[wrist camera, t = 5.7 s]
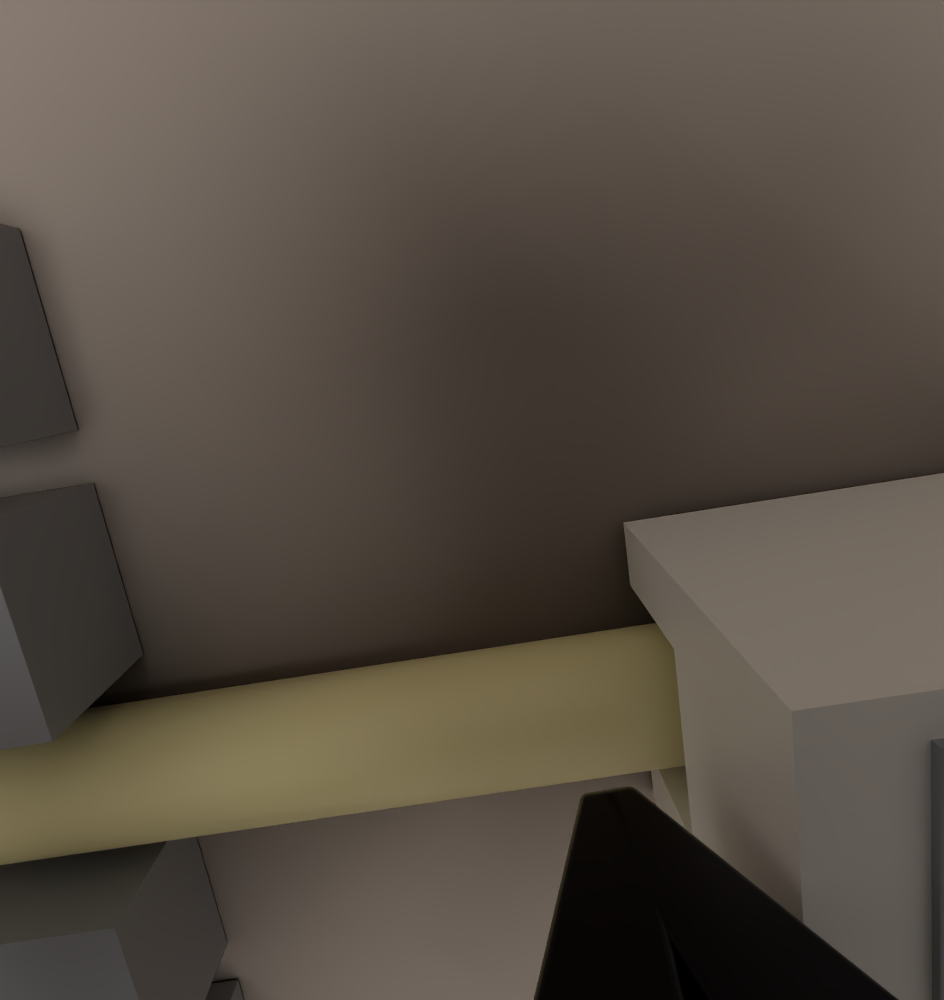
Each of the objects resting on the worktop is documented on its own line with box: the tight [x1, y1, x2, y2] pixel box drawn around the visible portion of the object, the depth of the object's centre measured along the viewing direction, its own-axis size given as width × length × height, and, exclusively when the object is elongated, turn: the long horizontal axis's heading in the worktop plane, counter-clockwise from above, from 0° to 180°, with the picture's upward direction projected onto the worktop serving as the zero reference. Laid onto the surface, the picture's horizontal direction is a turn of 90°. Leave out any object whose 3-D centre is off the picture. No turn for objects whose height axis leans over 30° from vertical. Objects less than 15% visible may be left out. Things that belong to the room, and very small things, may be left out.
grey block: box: [623, 473, 944, 1000], centre depth 8 cm, size 5×5×5 cm
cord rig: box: [0, 224, 685, 1000], centre depth 9 cm, size 23×16×3 cm
